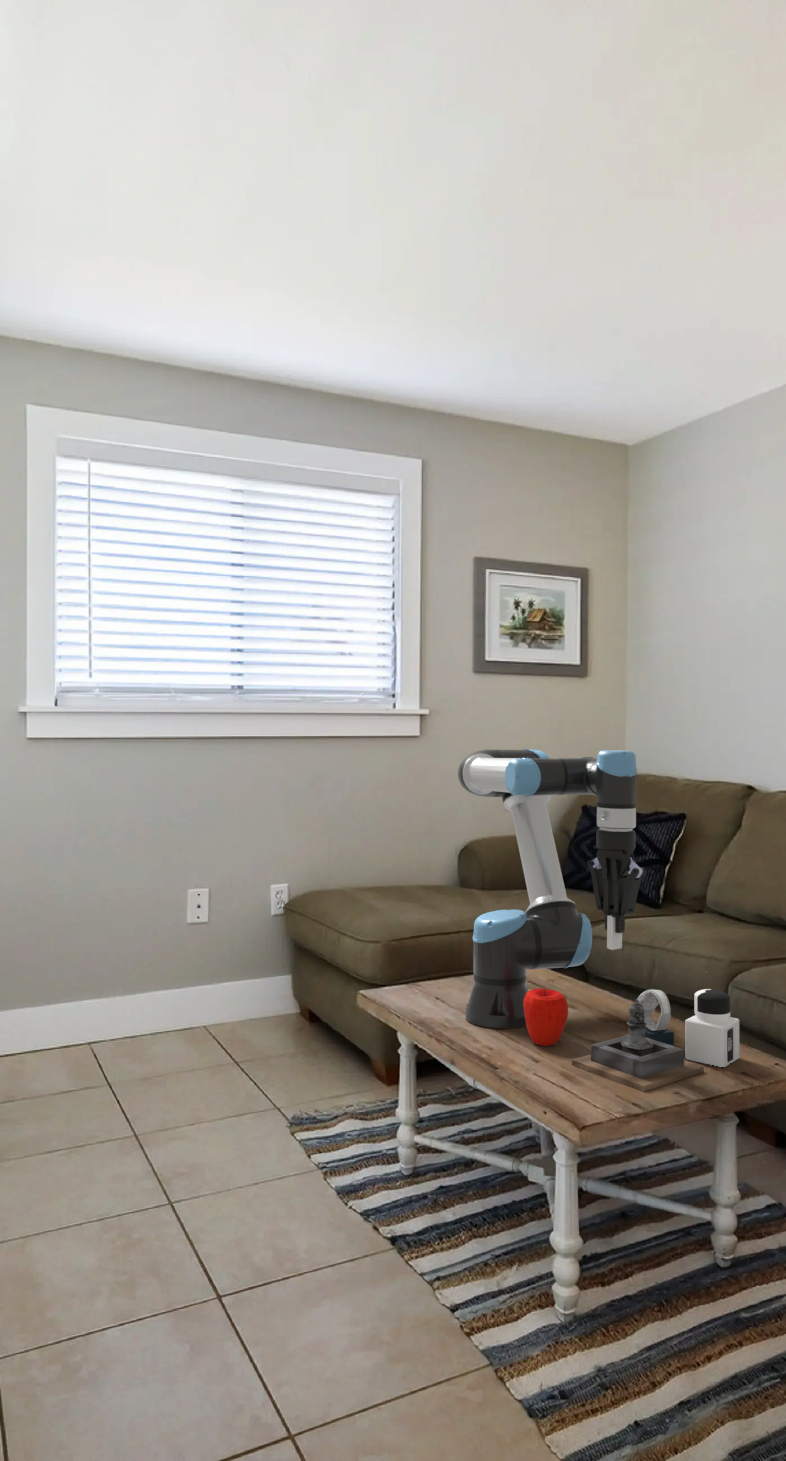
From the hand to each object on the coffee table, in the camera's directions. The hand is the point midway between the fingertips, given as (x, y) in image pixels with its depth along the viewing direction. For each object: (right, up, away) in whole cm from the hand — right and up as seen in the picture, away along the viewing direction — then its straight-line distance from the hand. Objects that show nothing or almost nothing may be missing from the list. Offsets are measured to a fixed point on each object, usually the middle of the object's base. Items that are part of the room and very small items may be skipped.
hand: (614, 948), depth 188 cm
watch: (+9, -21, +5) cm, 23 cm away
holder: (+2, -20, -9) cm, 23 cm away
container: (+18, -21, -4) cm, 28 cm away
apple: (-13, -21, +6) cm, 25 cm away
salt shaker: (+2, -20, -9) cm, 22 cm away
